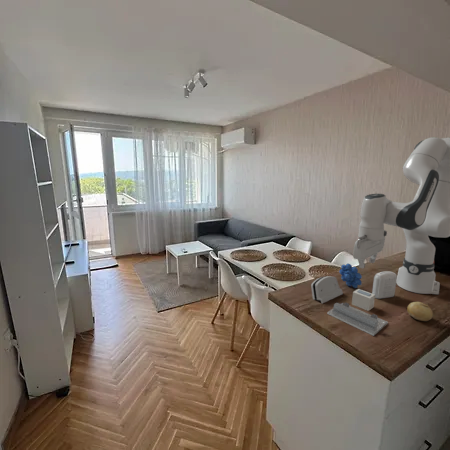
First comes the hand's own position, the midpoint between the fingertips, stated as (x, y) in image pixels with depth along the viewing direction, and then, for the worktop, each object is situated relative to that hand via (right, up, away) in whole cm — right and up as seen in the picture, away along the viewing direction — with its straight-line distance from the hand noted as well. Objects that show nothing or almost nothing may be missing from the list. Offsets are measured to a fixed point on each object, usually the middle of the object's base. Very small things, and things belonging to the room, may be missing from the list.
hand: (367, 265), depth 103 cm
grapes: (+3, -15, +22) cm, 27 cm away
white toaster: (-12, -17, +14) cm, 25 cm away
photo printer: (+14, -17, +12) cm, 25 cm away
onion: (+17, -21, -5) cm, 28 cm away
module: (0, -19, +4) cm, 19 cm away
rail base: (-8, -21, -5) cm, 23 cm away
